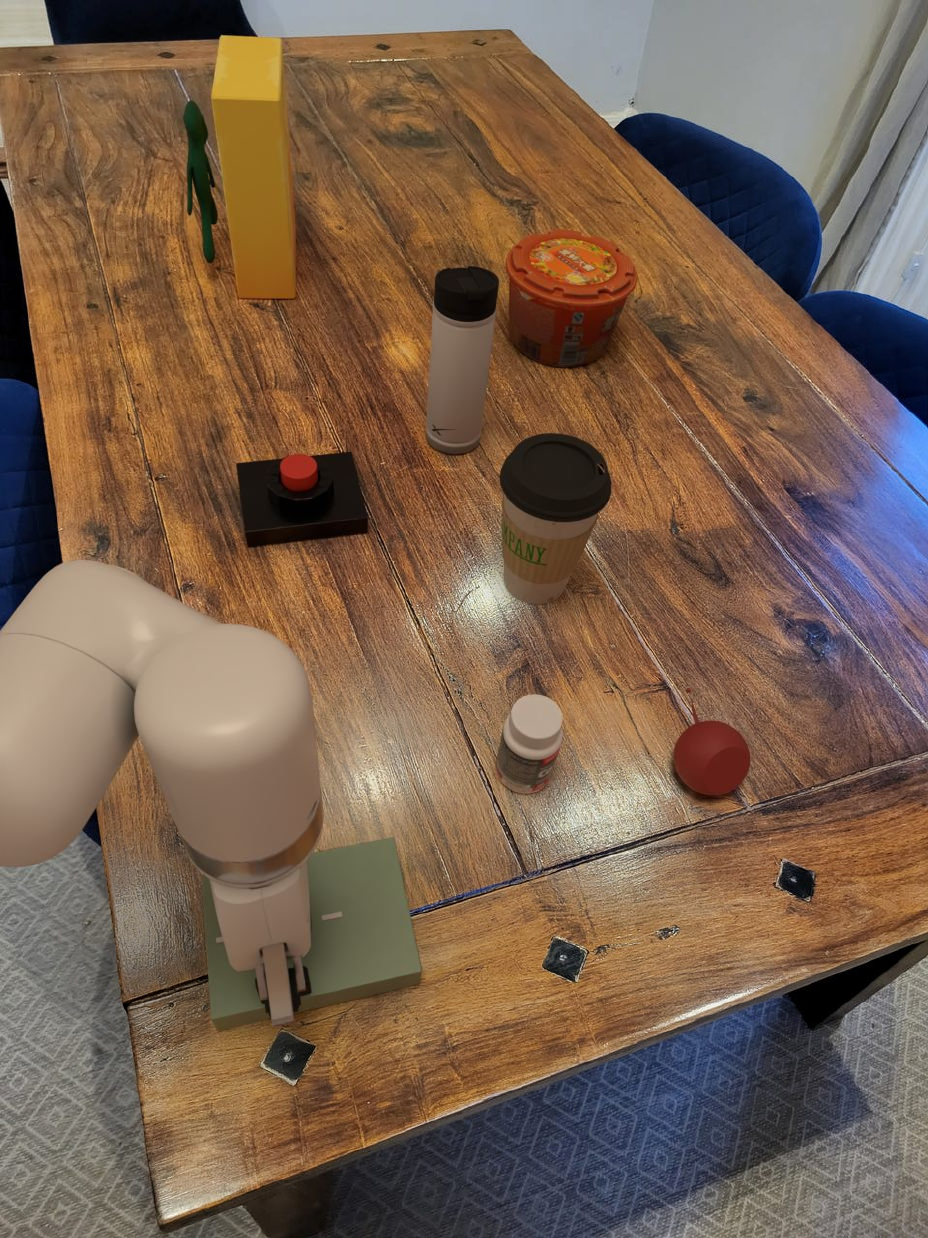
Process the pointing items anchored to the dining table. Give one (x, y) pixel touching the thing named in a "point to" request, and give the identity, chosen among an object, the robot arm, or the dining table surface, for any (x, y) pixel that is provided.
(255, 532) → the switch block
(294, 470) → the button
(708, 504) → the dining table surface
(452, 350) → the travel mug
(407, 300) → the dining table surface
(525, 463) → the coffee cup
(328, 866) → the panel
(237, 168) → the toys
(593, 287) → the food container
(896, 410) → the dining table surface
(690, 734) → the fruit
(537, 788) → the pill bottle
